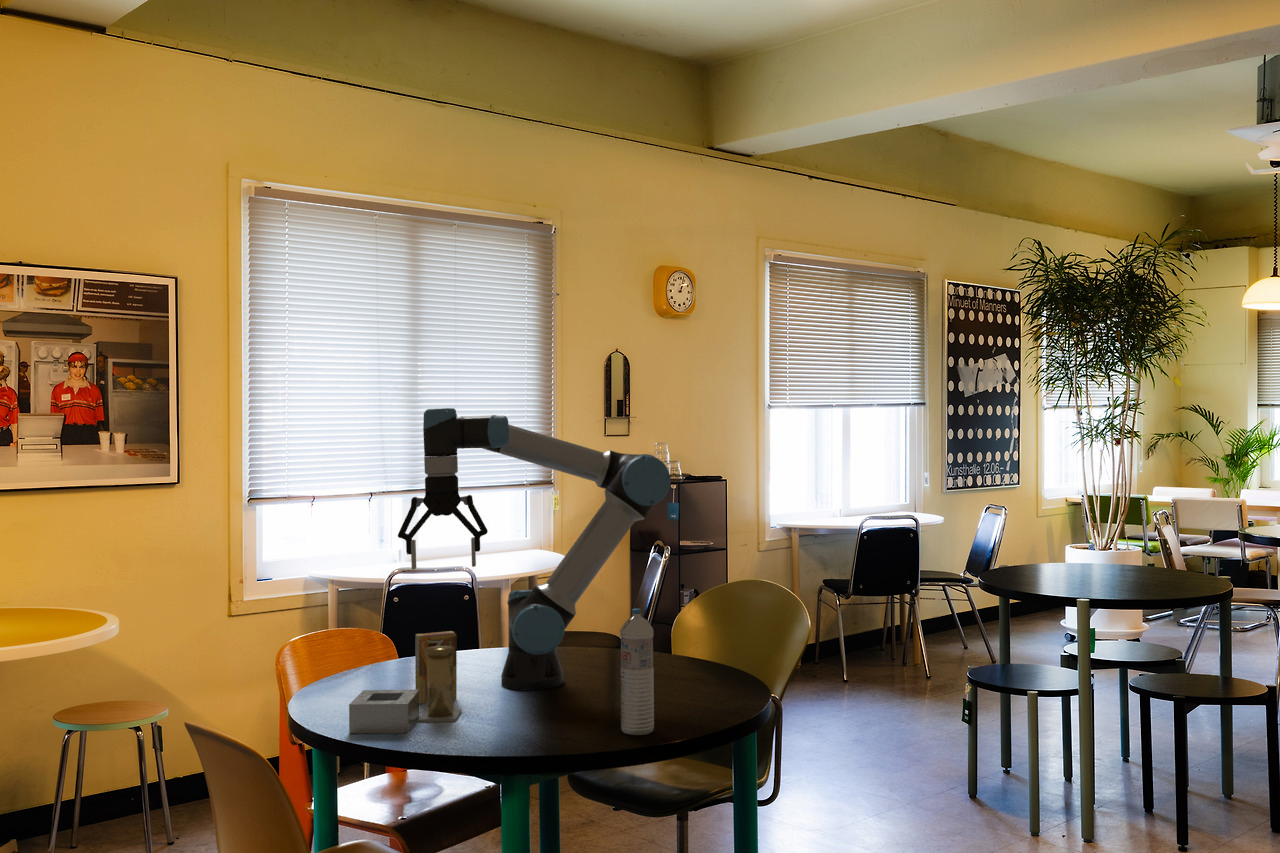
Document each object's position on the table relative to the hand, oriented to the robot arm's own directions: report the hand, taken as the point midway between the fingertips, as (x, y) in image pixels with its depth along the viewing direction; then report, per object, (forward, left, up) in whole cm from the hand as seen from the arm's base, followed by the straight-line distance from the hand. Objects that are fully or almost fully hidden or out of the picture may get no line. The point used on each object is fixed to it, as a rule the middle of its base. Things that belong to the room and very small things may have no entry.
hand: (444, 567), depth 236 cm
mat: (-1, +13, -31) cm, 34 cm away
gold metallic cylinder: (-1, +13, -30) cm, 33 cm away
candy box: (+2, -2, -31) cm, 31 cm away
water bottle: (-44, +26, -31) cm, 60 cm away
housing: (+9, +19, -31) cm, 37 cm away
